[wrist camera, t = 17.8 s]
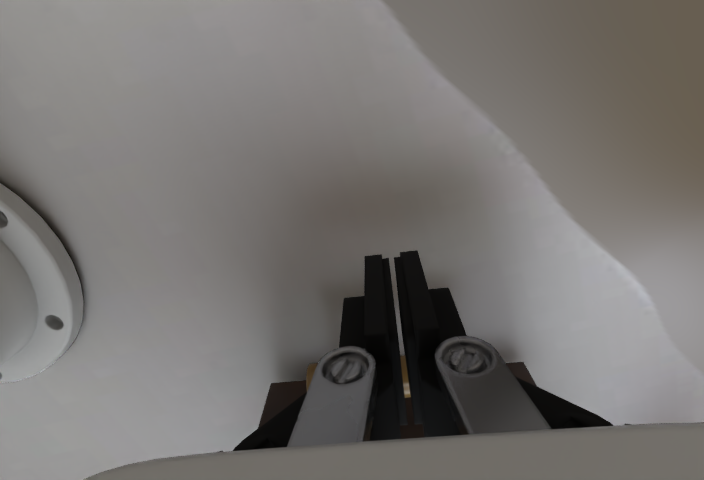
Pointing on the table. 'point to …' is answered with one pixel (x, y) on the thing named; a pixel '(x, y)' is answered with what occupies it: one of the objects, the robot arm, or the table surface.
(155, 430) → the table surface
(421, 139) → the table surface
